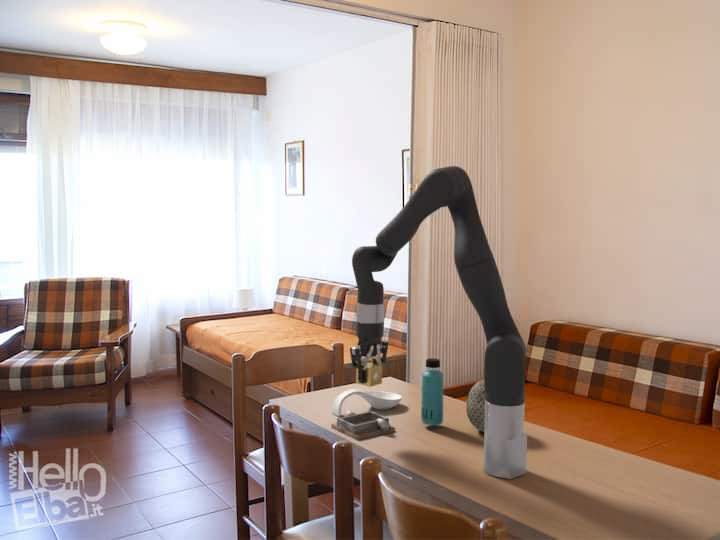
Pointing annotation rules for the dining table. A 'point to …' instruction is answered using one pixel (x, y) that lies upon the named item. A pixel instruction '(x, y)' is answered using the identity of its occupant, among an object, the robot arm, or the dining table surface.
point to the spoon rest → (368, 399)
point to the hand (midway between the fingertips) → (368, 380)
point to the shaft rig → (363, 425)
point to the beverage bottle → (432, 394)
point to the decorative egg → (477, 405)
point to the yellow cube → (371, 375)
